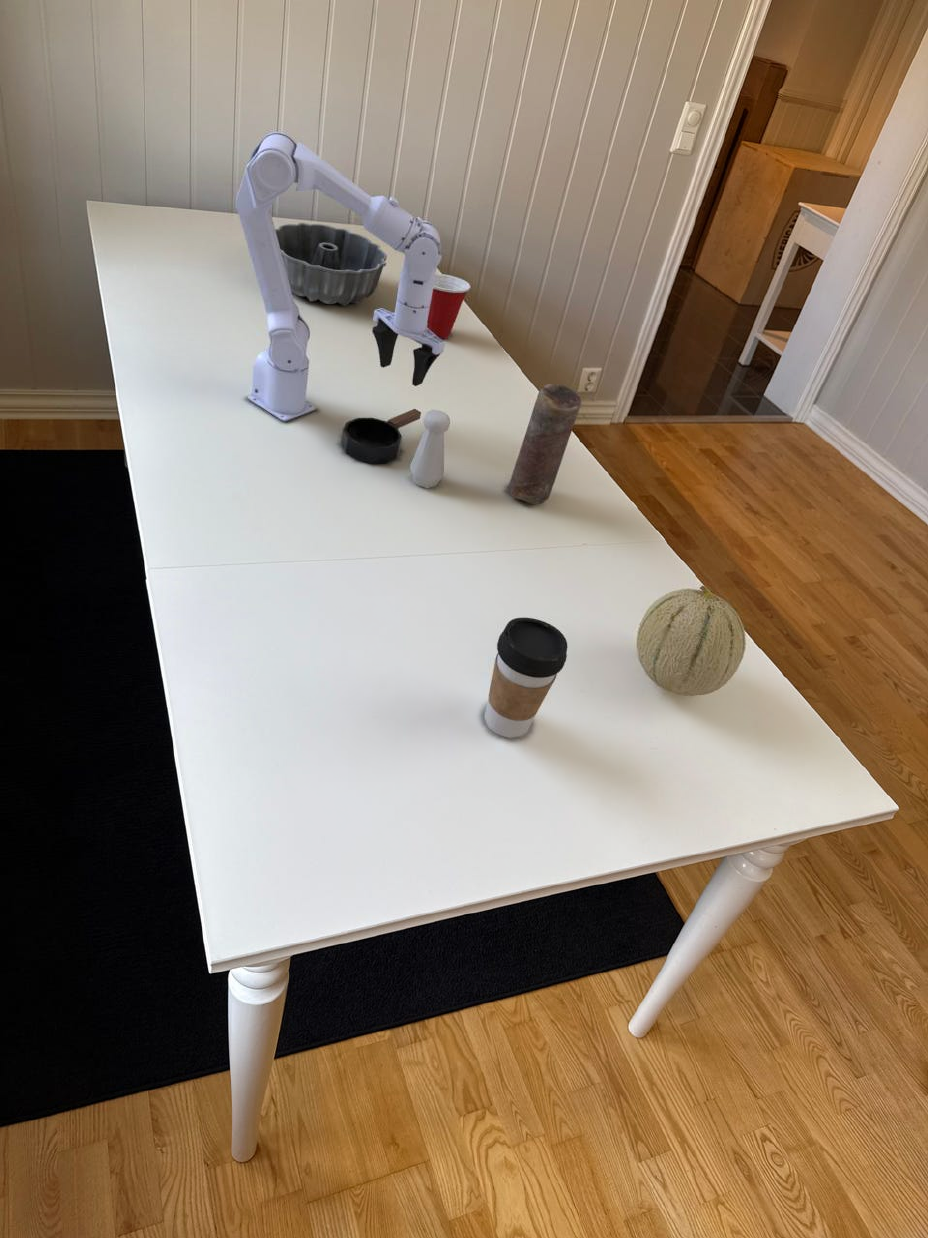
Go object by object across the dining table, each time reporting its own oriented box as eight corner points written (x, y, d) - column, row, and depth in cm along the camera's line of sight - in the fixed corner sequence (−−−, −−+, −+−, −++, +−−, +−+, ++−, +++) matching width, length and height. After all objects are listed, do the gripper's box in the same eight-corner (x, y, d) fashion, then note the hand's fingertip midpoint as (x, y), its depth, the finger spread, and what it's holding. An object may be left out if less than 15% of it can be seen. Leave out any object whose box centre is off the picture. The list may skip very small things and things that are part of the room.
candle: (553, 494, 156) (586, 393, 143) (542, 514, 150) (576, 410, 137) (514, 479, 157) (543, 377, 144) (501, 498, 151) (530, 394, 138)
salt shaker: (436, 494, 148) (451, 427, 140) (404, 485, 148) (416, 417, 140) (444, 477, 153) (459, 411, 144) (412, 468, 153) (425, 401, 144)
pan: (372, 470, 150) (375, 451, 147) (330, 443, 153) (332, 424, 151) (435, 440, 161) (438, 422, 159) (394, 416, 165) (397, 398, 162)
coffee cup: (472, 693, 115) (498, 609, 105) (534, 699, 117) (565, 616, 107) (477, 743, 109) (505, 658, 99) (542, 748, 110) (576, 665, 101)
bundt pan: (403, 298, 207) (410, 256, 200) (332, 325, 188) (337, 279, 182) (317, 257, 215) (321, 215, 208) (240, 279, 196) (242, 233, 190)
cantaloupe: (656, 725, 118) (698, 645, 108) (603, 649, 127) (638, 570, 117) (741, 707, 124) (788, 631, 114) (685, 637, 133) (724, 560, 123)
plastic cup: (451, 323, 202) (462, 271, 194) (466, 345, 195) (477, 292, 187) (407, 320, 198) (415, 267, 190) (419, 342, 191) (429, 288, 183)
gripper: (461, 313, 148) (446, 386, 157) (396, 279, 153) (385, 352, 162) (435, 321, 143) (421, 396, 152) (369, 287, 148) (359, 361, 157)
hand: (401, 374), depth 156 cm, fingers open, 7 cm apart
